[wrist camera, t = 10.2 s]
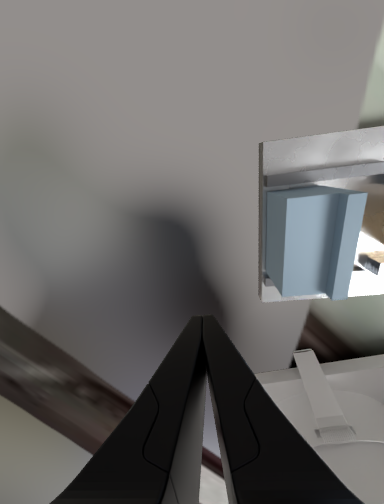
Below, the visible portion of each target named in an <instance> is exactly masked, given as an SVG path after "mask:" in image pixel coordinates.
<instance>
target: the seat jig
mask: <svg viewBox="0 0 384 504" xmlns="http://www.w3.org/2000/svg"><path fill="white" fill-rule="evenodd" d="M320 185H322V186H328V187H335V188H341V189H348V190H354V191H361V192H368V194H367V200H366V205H365V210H364V215H363V220H362V226H361V231H360V236H359V241H358V246H357V252H356V257H355V262H354V267H353V272H352V278H351V283H350V288H349V293H348V296H359V295H372V294H384V126H378V127H371V128H363V129H356V130H349V131H342V132H334V133H326V134H319V135H312V136H304V137H296V138H289V139H282V140H275V141H266V142H262V143H259V298H260V300H261V302H262V303H265V302H278V301H292V300H305V299H319V298H329V297H328V296H327V295H326V294H315V295H302V296H289V297H282V296H281V294H280V293H279V291H278V290H277V288H276V287H275V285H274V283H273V282H272V280H271V279H270V277H269V275H268V274H267V272H266V239H267V192H268V191H276V190H285V189H294V188H302V187H311V186H320Z"/></svg>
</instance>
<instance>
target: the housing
mask: <svg viewBox="0 0 384 504" xmlns="http://www.w3.org/2000/svg"><path fill="white" fill-rule="evenodd" d="M367 194H368V192H361V191H354V190H348V189H341V188H335V187H328V186H322V185H320V186H311V187H302V188H294V189H285V190H276V191H268V192H267V239H266V272H267V274H268V275H269V277H270V279H271V280H272V282H273V283H274V285H275V287H276V288H277V290H278V291H279V293H280V294H281V296H282V297H289V296H302V295H315V294H326V295H327V296H328V297H329V298H330V299H331V300H344V299H347V298H348V293H349V288H350V283H351V278H352V272H353V267H354V262H355V257H356V252H357V246H358V241H359V236H360V231H361V226H362V220H363V215H364V210H365V205H366V200H367Z"/></svg>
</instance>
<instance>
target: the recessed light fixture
mask: <svg viewBox="0 0 384 504" xmlns="http://www.w3.org/2000/svg"><path fill="white" fill-rule="evenodd" d="M307 350H311V351H307ZM301 351H307V352H301ZM294 352H300V353H294ZM293 356H294V359H295V362H296V365H297V367H296V368H289V369H283V370H276V371H269V372H263V373H256V374H254V375H255V376H256V379H258V380H259V382H260V383H261V385H262V386H263V388H264V389H265V390H266V392H267V393H268V394H269V396H270V397H271V399H272V400H273V401H274V403H275V404H276V405H277V406H278V408H279V409H280V410H281V411H282V413H283V414H284V415H285V416H286V417H287V419H288V420H289V421H290V422H291V423H292V425H293V426H294V427H295V428H296V429H297V430H298V432H299V433H300V434H301V435H302V436H303V437H304V439H305V440H306V441H307V442H308V443H309V444H310V446H311V447H312V448H313V449H314V450H315V451H316V452H317V454H318V455H319V456H320V457H321V458H322V459H323V461H324V462H325V463H326V464H327V465H328V466H329V468H330V469H331V470H332V471H333V472H334V473H335V474H336V476H337V477H338V478H339V479H340V480H341V481H342V482H343V483H344V484H345V485H346V486H347V487H348V488H349V489H350V490H351V491H352V492H353V493H354V494H355V495H356V496H357V497H358V498H359V499H360V500H361V501H362V502H364V503H365V504H384V354H382V355H376V356H369V357H363V358H356V359H349V360H343V361H336V362H329V363H323V364H319V362H318V360H317V358H316V355H315V353H314V351H313V350H312V349H304V350H298V351H293Z"/></svg>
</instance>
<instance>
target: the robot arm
mask: <svg viewBox="0 0 384 504" xmlns="http://www.w3.org/2000/svg"><path fill="white" fill-rule="evenodd" d="M207 376H208V383H209V389H210V394H211V401H212V407H213V412H214V418H215V424H216V430H217V436H218V442H219V448H220V454H221V460H222V466H223V472H224V478H225V483H226V489H227V495H228V501H229V504H365V503H364V502H362V501H361V500H360V499H359V498H358V497H357V496H356V495H355V494H354V493H353V492H352V491H351V490H350V489H349V488H348V487H347V486H346V485H345V484H344V483H343V482H342V481H341V480H340V479H339V478H338V477H337V476H336V474H335V473H334V472H333V471H332V470H331V469H330V468H329V466H328V465H327V464H326V463H325V462H324V461H323V459H322V458H321V457H320V456H319V455H318V454H317V452H316V451H315V450H314V449H313V448H312V447H311V446H310V444H309V443H308V442H307V441H306V440H305V439H304V437H303V436H302V435H301V434H300V433H299V432H298V430H297V429H296V428H295V427H294V426H293V425H292V423H291V422H290V421H289V420H288V419H287V417H286V416H285V415H284V414H283V413H282V411H281V410H280V409H279V408H278V406H277V405H276V404H275V403H274V401H273V400H272V399H271V397H270V396H269V394H268V393H267V392H266V390H265V389H264V388H263V386H262V385H261V383H260V382H259V380H258V379H256V376H255V375H254V373H253V372H252V370H251V369H250V368H249V366H248V365H247V363H246V362H245V360H244V359H243V357H242V356H241V354H240V353H239V352H238V350H237V349H236V348H235V346H234V345H233V343H232V341H231V340H230V339H229V337H228V336H227V334H226V333H225V331H224V330H223V329H222V327H221V326H220V324H219V323H218V321H217V320H216V318H215V317H214V316H213V315H204V316H201V315H196V316H192V317H191V319H190V320H189V322H188V323H187V325H186V327H185V328H184V329H183V331H182V333H181V334H180V335H179V337H178V338H177V340H176V342H175V343H174V345H173V346H172V348H171V349H170V351H169V352H168V354H167V355H166V357H165V358H164V360H163V361H162V363H161V364H160V366H159V367H158V369H157V370H156V372H155V374H154V375H153V376H152V378H151V379H150V381H149V384H147V385H146V387H145V388H144V390H143V391H142V393H141V394H140V396H139V397H138V399H137V400H136V402H135V403H134V404H133V406H132V407H131V409H130V410H129V411H128V413H127V414H126V415H125V417H124V418H123V419H122V420H121V422H120V423H119V424H118V426H117V427H116V428H115V429H114V431H113V432H112V433H111V434H110V436H109V437H108V438H107V439H106V441H105V442H104V443H103V444H102V446H101V447H100V448H99V449H98V450H97V452H96V453H95V454H94V455H93V457H92V458H91V459H90V461H89V462H88V463H87V464H86V465H85V467H84V468H83V469H82V470H81V472H80V473H79V474H78V475H77V476H76V478H75V479H74V480H73V481H72V482H71V483H70V484H69V485H68V487H67V488H66V489H65V490H64V491H63V492H62V493H61V494H60V495H59V496H58V497H56V498H55V499H54V500H53V501H52V502H51V503H50V504H199V489H200V473H201V458H202V442H203V427H204V410H205V394H206V379H207Z"/></svg>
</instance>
